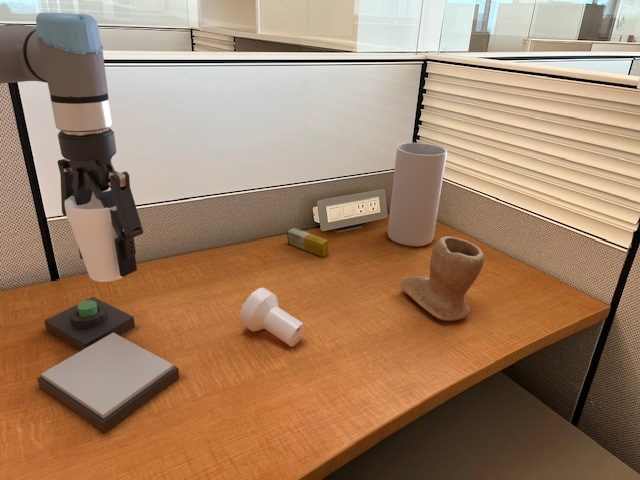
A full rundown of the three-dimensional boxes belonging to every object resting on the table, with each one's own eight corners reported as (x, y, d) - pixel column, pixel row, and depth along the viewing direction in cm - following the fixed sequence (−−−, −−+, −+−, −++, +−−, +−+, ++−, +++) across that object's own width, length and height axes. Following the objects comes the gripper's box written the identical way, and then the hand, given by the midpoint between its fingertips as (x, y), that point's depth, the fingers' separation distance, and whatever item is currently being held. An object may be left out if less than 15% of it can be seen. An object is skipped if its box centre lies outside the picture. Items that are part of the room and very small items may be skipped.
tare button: (74, 314, 87) (73, 306, 86) (90, 306, 90) (89, 298, 89) (85, 319, 86) (84, 311, 85) (101, 311, 88) (100, 303, 87)
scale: (39, 388, 75) (35, 374, 74) (116, 342, 86) (113, 329, 85) (104, 433, 68) (101, 418, 67) (179, 377, 79) (178, 363, 77)
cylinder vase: (423, 252, 125) (437, 158, 114) (379, 239, 130) (389, 149, 120) (439, 235, 134) (453, 148, 124) (397, 225, 140) (408, 140, 129)
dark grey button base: (46, 331, 88) (42, 313, 86) (95, 306, 96) (91, 289, 94) (87, 355, 83) (83, 336, 81) (135, 327, 90) (132, 309, 89)
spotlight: (264, 306, 96) (265, 278, 91) (310, 335, 92) (313, 308, 86) (236, 330, 91) (236, 302, 86) (283, 363, 86) (285, 335, 81)
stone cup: (485, 317, 98) (500, 252, 92) (437, 329, 94) (449, 261, 87) (440, 282, 111) (450, 222, 104) (396, 291, 106) (404, 229, 100)
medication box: (287, 243, 126) (285, 230, 124) (294, 239, 128) (293, 226, 126) (322, 257, 119) (321, 243, 117) (328, 253, 121) (328, 239, 119)
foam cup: (65, 281, 77) (49, 206, 72) (102, 256, 85) (90, 187, 80) (118, 290, 75) (106, 214, 70) (150, 264, 84) (141, 193, 78)
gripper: (158, 136, 68) (172, 274, 78) (63, 115, 78) (86, 239, 88) (113, 146, 62) (134, 294, 72) (17, 122, 72) (47, 255, 82)
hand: (108, 264), depth 80 cm, fingers closed on foam cup, 9 cm apart
